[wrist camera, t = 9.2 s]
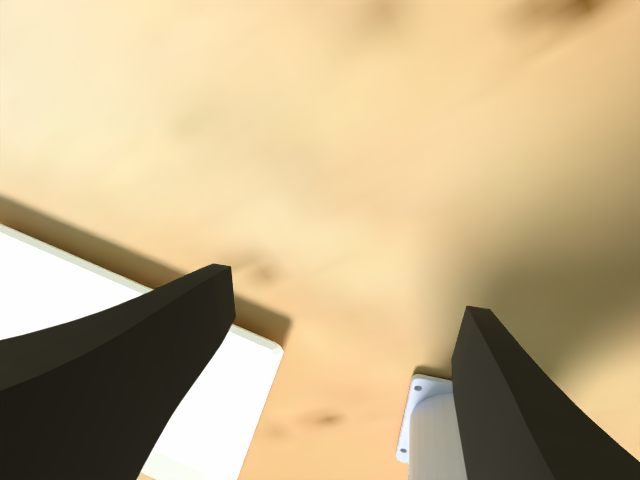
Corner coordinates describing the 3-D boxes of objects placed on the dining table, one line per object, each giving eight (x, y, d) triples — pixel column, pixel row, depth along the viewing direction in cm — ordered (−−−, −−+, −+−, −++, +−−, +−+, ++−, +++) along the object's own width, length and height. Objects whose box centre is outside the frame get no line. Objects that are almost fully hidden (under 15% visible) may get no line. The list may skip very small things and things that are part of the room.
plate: (30, 398, 40) (12, 413, 38) (-7, 202, 28) (-36, 211, 26) (232, 493, 38) (223, 514, 37) (293, 330, 26) (283, 350, 24)
